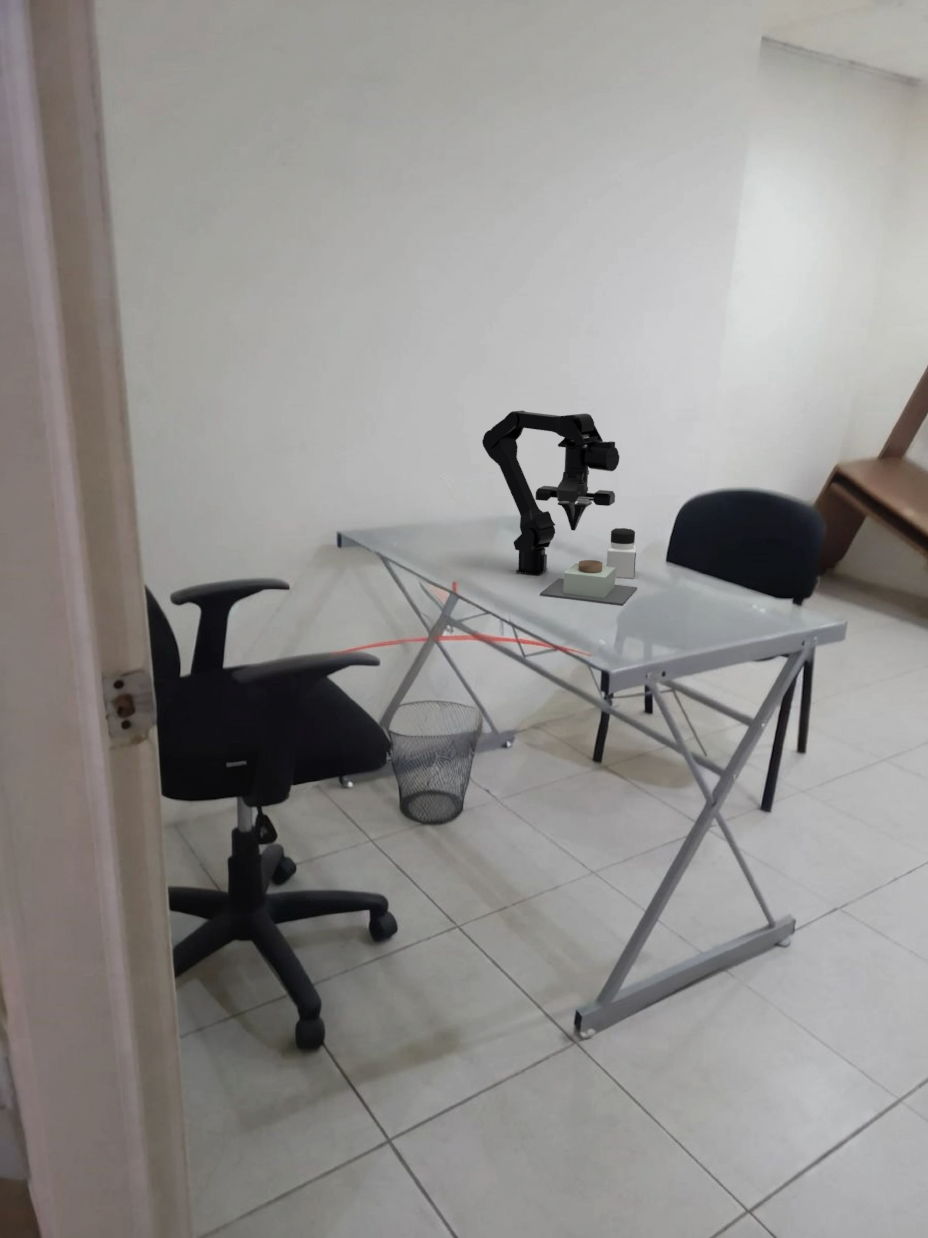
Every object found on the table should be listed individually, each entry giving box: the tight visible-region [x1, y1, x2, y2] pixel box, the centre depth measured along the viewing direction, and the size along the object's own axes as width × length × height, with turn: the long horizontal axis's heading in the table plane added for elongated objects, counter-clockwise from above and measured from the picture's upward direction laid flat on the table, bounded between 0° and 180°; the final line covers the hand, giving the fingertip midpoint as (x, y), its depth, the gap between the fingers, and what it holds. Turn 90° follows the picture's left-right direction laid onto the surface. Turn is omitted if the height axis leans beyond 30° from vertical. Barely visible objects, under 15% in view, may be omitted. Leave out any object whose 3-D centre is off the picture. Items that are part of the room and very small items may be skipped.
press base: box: [539, 562, 638, 606], centre depth 207 cm, size 20×15×6 cm
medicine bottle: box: [606, 527, 637, 579], centre depth 222 cm, size 7×7×12 cm
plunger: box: [578, 559, 603, 572], centre depth 207 cm, size 6×6×6 cm
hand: (573, 530), depth 214 cm, fingers closed
